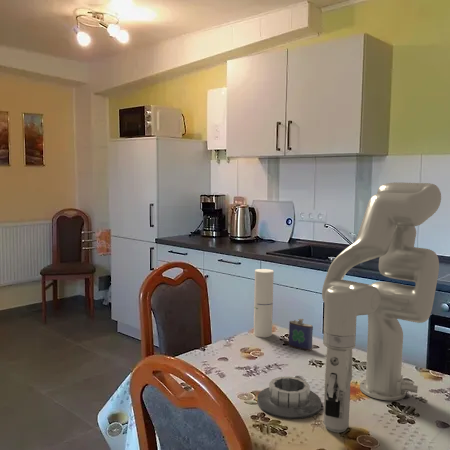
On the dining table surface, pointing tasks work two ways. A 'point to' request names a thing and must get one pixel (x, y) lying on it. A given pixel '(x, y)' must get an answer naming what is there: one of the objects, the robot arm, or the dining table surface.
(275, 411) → the rosette socket
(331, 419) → the energy drink can
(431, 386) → the dining table surface
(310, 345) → the flask
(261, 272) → the cylindrical container
